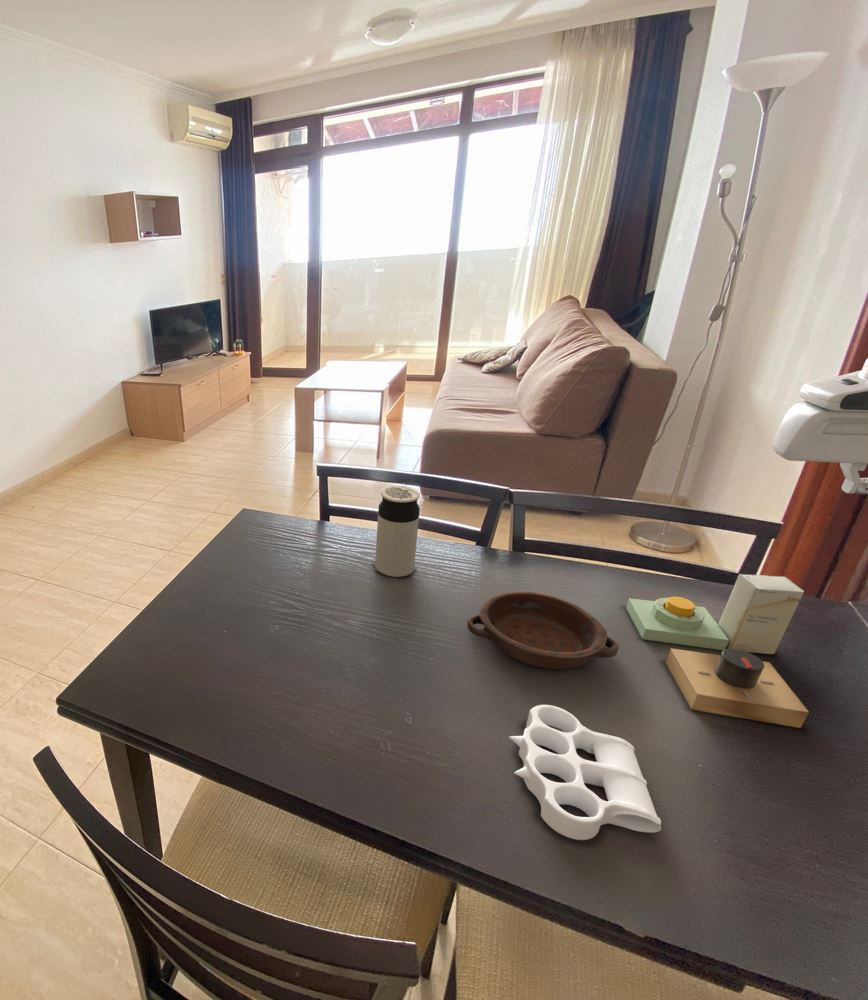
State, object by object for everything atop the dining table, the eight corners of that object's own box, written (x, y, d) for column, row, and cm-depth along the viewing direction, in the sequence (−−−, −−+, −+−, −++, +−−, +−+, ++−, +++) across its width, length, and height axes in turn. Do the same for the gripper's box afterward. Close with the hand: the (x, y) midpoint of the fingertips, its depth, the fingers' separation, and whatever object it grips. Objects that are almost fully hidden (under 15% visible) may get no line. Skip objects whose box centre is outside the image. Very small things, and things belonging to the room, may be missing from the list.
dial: (709, 664, 81) (717, 644, 79) (747, 670, 79) (756, 650, 78) (722, 684, 77) (731, 664, 76) (762, 691, 76) (771, 670, 74)
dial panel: (762, 677, 82) (770, 661, 80) (800, 728, 73) (810, 711, 72) (665, 662, 86) (671, 647, 85) (691, 709, 78) (698, 693, 76)
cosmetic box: (728, 651, 87) (755, 588, 82) (712, 633, 91) (737, 573, 86) (776, 655, 86) (806, 591, 80) (758, 636, 89) (785, 575, 84)
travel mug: (387, 581, 112) (393, 504, 105) (368, 562, 119) (372, 488, 112) (421, 573, 114) (429, 496, 106) (399, 555, 121) (406, 482, 113)
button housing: (700, 617, 95) (708, 598, 93) (724, 650, 87) (733, 631, 86) (625, 607, 99) (631, 589, 97) (642, 639, 91) (648, 620, 89)
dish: (462, 604, 103) (465, 582, 101) (598, 622, 96) (604, 599, 94) (469, 666, 89) (473, 642, 87) (630, 693, 81) (639, 667, 79)
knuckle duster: (666, 865, 59) (516, 824, 65) (621, 737, 74) (502, 712, 80) (675, 846, 58) (520, 805, 63) (627, 719, 73) (506, 695, 78)
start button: (687, 606, 92) (690, 598, 92) (696, 619, 89) (699, 610, 89) (661, 603, 94) (664, 595, 93) (669, 615, 91) (672, 607, 90)
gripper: (1007, 385, 65) (949, 488, 71) (786, 384, 73) (750, 478, 78) (1058, 399, 60) (991, 509, 66) (815, 397, 67) (774, 496, 73)
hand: (858, 492), depth 72 cm, fingers closed
